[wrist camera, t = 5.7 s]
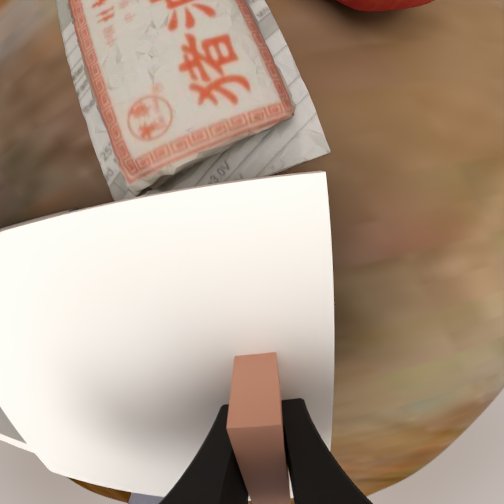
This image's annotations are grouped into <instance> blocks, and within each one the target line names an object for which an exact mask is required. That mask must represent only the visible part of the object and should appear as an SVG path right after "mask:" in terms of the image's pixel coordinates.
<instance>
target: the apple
mask: <svg viewBox="0 0 504 504" xmlns="http://www.w3.org/2000/svg"><path fill="white" fill-rule="evenodd" d="M336 1H338V2H340V3H342V4H344V5H346V6H348V7H350V8H353V9H356V10H359V11H368V12H370V11H390V10H399V9H407V8H412V7H417V6H421V5H424V4H427V3H430V2H432V1H434V0H336Z"/></svg>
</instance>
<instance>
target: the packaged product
mask: <svg viewBox="0 0 504 504" xmlns="http://www.w3.org/2000/svg"><path fill="white" fill-rule="evenodd" d="M55 2H56V8H57V13H58V19H59V22H60V30H61V32H62V37H63V41H64V45H65V50H66V57H67V61H68V63H69V66H70V69H71V74H72V79H73V82H74V86H75V88H76V92H77V95H78V98H79V102H80V105H81V109H82V112H83V115H84V117H85V119H86V122H87V126H88V130H89V134H90V137H91V140H92V143H93V146H94V149H95V152H96V155H97V158H98V160H99V162H100V165H101V168H102V171H103V174H104V177H105V179H106V181H107V183H108V186H109V188H110V191H111V194H112V197H113V199H114V200H115V202H116V201H120V200H125V199H130V198H135V197H140V196H145V195H151V194H156V193H161V192H167V191H172V190H178V189H184V188H190V187H196V186H202V185H209V184H215V183H222V182H229V181H236V180H243V179H251V178H259V177H267V176H270V175H273V174H276V173H279V172H281V171H284V170H286V169H289V168H291V167H294V166H296V165H299V164H301V163H304V162H306V161H309V160H311V159H314V158H316V157H319V156H322V155H325V154H327V153H330V152H331V151H330V149H329V146H328V144H327V141H326V139H325V136H324V133H323V130H322V127H321V125H320V122H319V119H318V116H317V112H316V110H315V107H314V105H313V102H312V100H311V97H310V95H309V93H308V90H307V88H306V86H305V84H304V82H303V80H302V78H301V76H300V73H299V71H298V69H297V66H296V64H295V61H294V59H293V57H292V55H291V52H290V50H289V48H288V46H287V44H286V41H285V39H284V37H283V35H282V33H281V31H280V29H279V27H278V25H277V23H276V21H275V19H274V17H273V15H272V13H271V11H270V9H269V8H268V6H267V4H266V2H265V0H55Z"/></svg>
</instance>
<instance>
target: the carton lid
mask: <svg viewBox="0 0 504 504" xmlns="http://www.w3.org/2000/svg"><path fill="white" fill-rule="evenodd" d="M333 393H334V288H333V263H332V244H331V229H330V215H329V203H328V191H327V181H326V172H323V171H313V172H303V173H293V174H284V175H275V176H267V177H259V178H251V179H243V180H236V181H229V182H222V183H215V184H209V185H202V186H196V187H190V188H184V189H178V190H172V191H167V192H161V193H156V194H151V195H145V196H140V197H135V198H130V199H125V200H120V201H116V202H111V203H106V204H102V205H97V206H93V207H88V208H84V209H80V210H75V211H71V212H67V213H63V214H59V215H55V216H51V217H47V218H43V219H40V220H36V221H32V222H29V223H25V224H21V225H18V226H14V227H11V228H7V229H4V230H1V231H0V407H1V408H2V410H3V411H4V413H5V414H6V416H7V417H8V419H9V420H10V422H11V423H12V424H13V426H14V427H15V428H16V430H17V431H18V432H19V434H20V435H21V436H22V438H23V439H24V440H25V442H26V443H27V444H28V445H29V447H30V448H31V449H32V450H33V452H34V453H35V454H36V455H37V456H38V457H39V459H40V460H41V461H42V462H43V463H44V464H45V466H46V467H47V468H48V469H49V470H50V471H52V472H54V473H57V474H61V475H64V476H67V477H70V478H74V479H77V480H81V481H84V482H88V483H92V484H96V485H100V486H104V487H109V488H113V489H118V490H123V491H128V492H134V493H140V494H146V495H153V496H160V497H165V496H166V495H167V494H168V493H169V491H170V490H171V489H172V488H173V487H174V485H175V484H176V483H177V481H178V480H179V479H180V478H181V476H182V475H183V473H184V472H185V470H186V469H187V468H188V466H189V465H190V463H191V462H192V460H193V459H194V457H195V456H196V454H197V452H198V451H199V449H200V447H201V445H202V444H203V442H204V440H205V439H206V437H207V435H208V433H209V431H210V429H211V427H212V425H213V423H214V421H215V419H216V417H217V415H218V412H219V410H220V407H221V406H222V405H224V404H229V409H228V418H227V427H226V429H227V432H228V435H229V438H230V441H231V444H232V447H233V451H234V454H235V457H236V460H237V463H238V465H239V468H240V471H241V474H242V477H243V480H244V483H245V486H246V488H247V491H248V494H249V498H248V501H251V502H252V504H291V498H294V497H293V492H292V486H291V481H290V475H289V470H288V464H287V455H286V446H285V437H284V429H283V420H282V405H281V400H287V399H296V398H302V399H304V400H305V404H306V407H307V410H308V412H309V415H310V417H311V419H312V421H313V423H314V425H315V427H316V429H317V431H318V433H319V434H320V436H321V438H322V440H323V441H324V443H325V444H326V446H327V448H328V449H329V451H330V448H331V434H332V417H333Z"/></svg>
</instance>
